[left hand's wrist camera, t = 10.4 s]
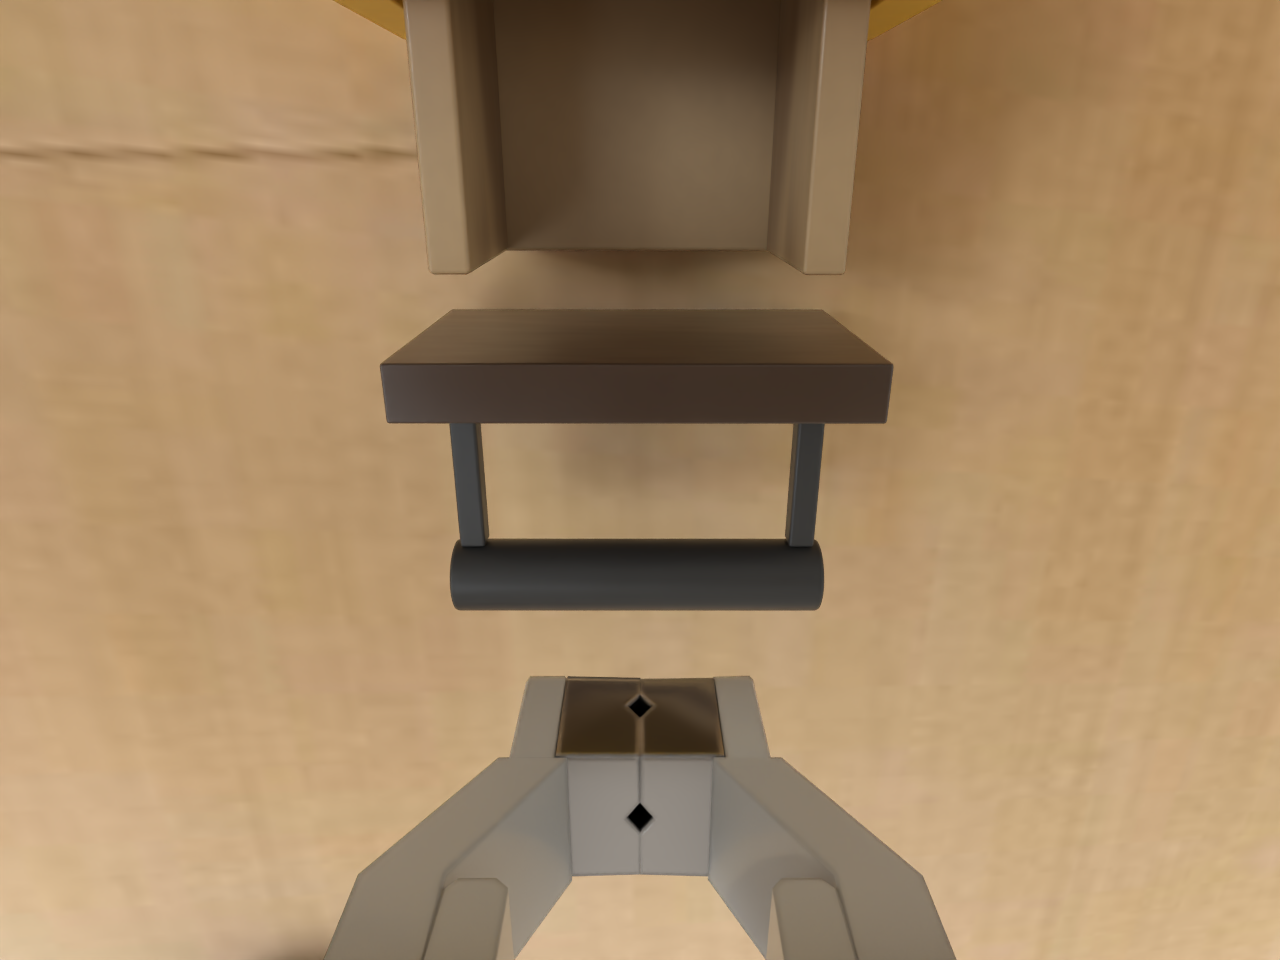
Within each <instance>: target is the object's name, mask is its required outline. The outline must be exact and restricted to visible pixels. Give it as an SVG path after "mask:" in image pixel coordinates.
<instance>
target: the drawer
mask: <svg viewBox="0 0 1280 960" xmlns="http://www.w3.org/2000/svg"><path fill="white" fill-rule="evenodd" d="M870 6H871V0H403V10H404V20H405V30H406V41H407V51H408V62H409V72H410V82H411V93H412V103H413V114H414V124H415V134H416V145H417V155H418V166H419V176H420V187H421V197H422V207H423V218H424V228H425V239H426V249H427V259H428V269H429V271H430V273H432V274H468V273H470V272H472V271H473V270H475V269H477V268H478V267H480V266H482V265H483V264H485V263H486V262H488V261H490V260H491V259H493V258H495V257H496V256H498V255H499V254H501V253H503V252H504V251H506V250H599V251H769V252H771V253H772V254H774V255H775V256H777V257H779V258H780V259H782V260H783V261H785V262H786V263H788V264H789V265H791V266H793V267H794V268H796V269H797V270H799V271H800V272H802V273H804V274H806V275H841V274H844V272H845V268H846V258H847V247H848V237H849V226H850V216H851V206H852V195H853V185H854V174H855V164H856V153H857V143H858V132H859V122H860V111H861V101H862V90H863V80H864V69H865V59H866V48H867V38H868V27H869V17H870ZM380 371H381V379H382V387H383V395H384V403H385V411H386V419H387V422H388V423H449V424H450V435H451V446H452V456H453V467H454V478H455V489H456V499H457V510H458V521H459V532H460V540H458V541H457V542H456V544H455V546H454V549H453V553H452V558H451V566H450V590H451V597H452V601H453V604H454V607H455V608H456V609H458V610H817V609H818V608H819V607H820V605H821V602H822V598H823V591H824V565H823V557H822V553H821V549H820V546H819V544H818V542H817V541H816V540H814V533H815V523H816V512H817V501H818V490H819V479H820V468H821V458H822V447H823V436H824V425H825V424H884V423H886V422H887V415H888V407H889V399H890V391H891V383H892V375H893V364H892V363H891V362H889V361H888V360H887V359H885V358H884V357H883V356H881V355H880V354H879V353H878V352H876V351H875V350H874V349H872V348H871V347H870V346H869V345H867V344H866V343H865V342H863V341H862V340H861V339H859V338H858V337H857V336H856V335H854V334H853V333H852V332H850V331H849V330H848V329H847V328H845V327H844V326H843V325H841V324H840V323H839V322H837V321H836V320H835V319H834V318H832V317H831V316H830V315H828V314H827V313H826V312H824V311H823V310H473V309H453V310H451V311H450V312H448V313H447V314H446V315H444V316H443V317H442V318H440V319H439V320H438V321H437V322H435V323H434V324H433V325H431V326H430V327H429V328H427V329H426V330H425V331H423V332H422V333H421V334H419V335H418V336H417V337H415V338H414V339H413V340H411V341H410V342H409V343H407V344H406V345H405V346H403V347H402V348H401V349H400V350H398V351H397V352H396V353H394V354H393V355H392V356H390V357H389V358H388V359H386V360H385V361H384V362H382V363H381V364H380ZM481 423H779V424H794V426H793V439H792V452H791V465H790V478H789V491H788V504H787V517H786V530H785V537H786V539H488V537H489V526H488V514H487V501H486V488H485V475H484V462H483V449H482V436H481Z"/></svg>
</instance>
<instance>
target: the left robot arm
mask: <svg viewBox="0 0 1280 960" xmlns="http://www.w3.org/2000/svg"><path fill="white" fill-rule="evenodd" d="M632 874H646V875H681V876H708V880H709V882H710V883H711V884H712V886H713V887H714V889H715V890H716V891H717V893H718V894H719V895H720V897H721V898H722V900H723V901H724V902H725V904H726V905H727V907H728V908H729V909H730V911H731V912H732V914H733V915H734V916H735V918H736V919H737V920H738V922H739V923H740V925H741V926H742V927H743V929H744V930H745V932H746V933H747V934H748V936H749V937H750V938H751V940H752V941H753V943H754V944H755V945H756V947H757V948H758V950H759V951H760V952H761V954H762V955H763V956H764V958H765V959H766V960H956V957H955V955H954V952H953V950H952V947H951V945H950V942H949V940H948V937H947V935H946V933H945V930H944V928H943V925H942V923H941V920H940V918H939V915H938V913H937V910H936V908H935V905H934V903H933V900H932V898H931V895H930V893H929V890H928V888H927V885H926V883H925V880H924V878H923V876H922V875H921V874H920V873H919V872H918V871H916V870H915V869H914V868H913V867H912V866H911V865H909V864H908V863H907V862H906V861H905V860H903V859H902V858H901V857H900V856H899V855H897V854H896V853H895V852H894V851H893V850H891V849H890V848H889V847H888V846H887V845H885V844H884V843H883V842H882V841H881V840H879V839H878V838H877V837H876V836H875V835H873V834H872V833H871V832H870V831H869V830H868V829H866V828H865V827H864V826H863V825H862V824H860V823H859V822H858V821H857V820H856V819H854V818H853V817H852V816H851V815H850V814H848V813H847V812H846V811H845V810H844V809H842V808H841V807H840V806H839V805H838V804H836V803H835V802H834V801H833V800H832V799H830V798H829V797H828V796H827V795H826V794H825V793H823V792H822V791H821V790H820V789H819V788H817V787H816V786H815V785H814V784H813V783H811V782H810V781H809V780H808V779H807V778H805V777H804V776H803V775H802V774H801V773H799V772H798V771H797V770H796V769H795V768H793V767H792V766H791V765H790V764H789V763H787V762H786V761H785V760H784V759H783V758H771V757H770V753H769V748H768V744H767V739H766V735H765V731H764V726H763V722H762V717H761V713H760V708H759V704H758V700H757V695H756V691H755V686H754V682H753V679H752V678H751V677H750V676H728V677H713V678H667V679H640V678H618V677H571V676H568V677H567V678H566V677H565V676H530V678H529V679H528V681H527V682H526V686H525V690H524V694H523V699H522V703H521V708H520V712H519V717H518V721H517V726H516V730H515V735H514V739H513V743H512V748H511V752H510V757H509V758H497V759H496V760H495V761H494V762H493V763H491V764H490V765H489V766H488V767H487V768H485V769H484V770H483V771H482V772H481V773H479V774H478V775H477V776H476V777H475V778H473V779H472V780H471V781H470V782H469V783H467V784H466V785H465V786H464V787H463V788H461V789H460V790H459V791H458V792H457V793H455V794H454V795H453V796H452V797H451V798H449V799H448V800H447V801H446V802H445V803H443V804H442V805H441V806H440V807H439V808H437V809H436V810H435V811H434V812H433V813H431V814H430V815H429V816H428V817H427V818H425V819H424V820H423V821H422V822H421V823H419V824H418V825H417V826H416V827H415V828H413V829H412V830H411V831H410V832H409V833H407V834H406V835H405V836H404V837H403V838H401V839H400V840H399V841H398V842H397V843H395V844H394V845H393V846H392V847H391V848H389V849H388V850H387V851H386V852H385V853H383V854H382V855H381V856H380V857H379V858H377V859H376V860H375V861H374V862H373V863H371V864H370V865H369V866H368V867H367V868H365V869H364V870H363V871H362V872H361V873H359V874H358V876H357V879H356V881H355V883H354V886H353V888H352V891H351V893H350V896H349V898H348V901H347V903H346V906H345V908H344V911H343V913H342V915H341V918H340V920H339V923H338V925H337V928H336V930H335V933H334V935H333V938H332V940H331V942H330V945H329V947H328V950H327V952H326V955H325V957H324V960H515V958H516V957H517V956H518V954H519V953H520V951H521V950H522V949H523V947H524V946H525V945H526V943H527V942H528V940H529V939H530V938H531V936H532V935H533V934H534V932H535V931H536V929H537V928H538V927H539V925H540V924H541V922H542V921H543V920H544V918H545V917H546V916H547V914H548V913H549V911H550V910H551V909H552V907H553V906H554V905H555V903H556V902H557V900H558V899H559V898H560V896H561V895H562V894H563V892H564V891H565V889H566V888H567V887H568V885H569V884H570V883H571V881H572V876H598V875H632Z"/></svg>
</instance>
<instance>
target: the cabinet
mask: <svg viewBox="0 0 1280 960" xmlns="http://www.w3.org/2000/svg"><path fill="white" fill-rule="evenodd" d="M333 1H335V2H337V3H339V4H341V5H342V6H344V7H346V8H348V9H350V10H352V11H353V12H355V13H357V14H359V15H361V16H363V17H364V18H366V19H368V20H370V21H372V22H373V23H375V24H377V25H379V26H381V27H383V28H384V29H386V30H388V31H390V32H392V33H393V34H395V35H397V36H399V37H401V38H403V39H406V30H405V20H404V10H403V0H333ZM940 1H942V0H871V6H870V17H869V27H868V38H867V41H868V40H870V39H873V38H875V37H877V36H879V35H881V34H882V33H884V32H886V31H888V30H890V29H891V28H893V27H895V26H897V25H899V24H900V23H902V22H904V21H906V20H908V19H909V18H911V17H913V16H915V15H917V14H919V13H920V12H922V11H924V10H926V9H928V8H929V7H931V6H933V5H935V4H937V3H938V2H940Z"/></svg>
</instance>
